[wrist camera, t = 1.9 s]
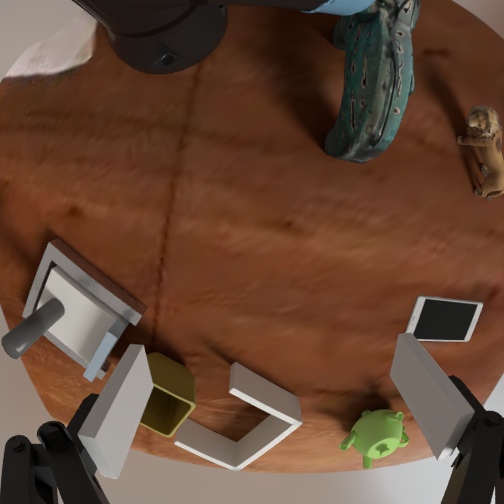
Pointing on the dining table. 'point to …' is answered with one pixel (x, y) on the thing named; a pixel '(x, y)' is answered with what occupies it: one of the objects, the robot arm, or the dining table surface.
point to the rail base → (87, 278)
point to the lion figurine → (486, 148)
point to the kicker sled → (70, 322)
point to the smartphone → (443, 319)
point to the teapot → (376, 435)
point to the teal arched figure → (373, 78)
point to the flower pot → (168, 395)
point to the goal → (257, 440)
